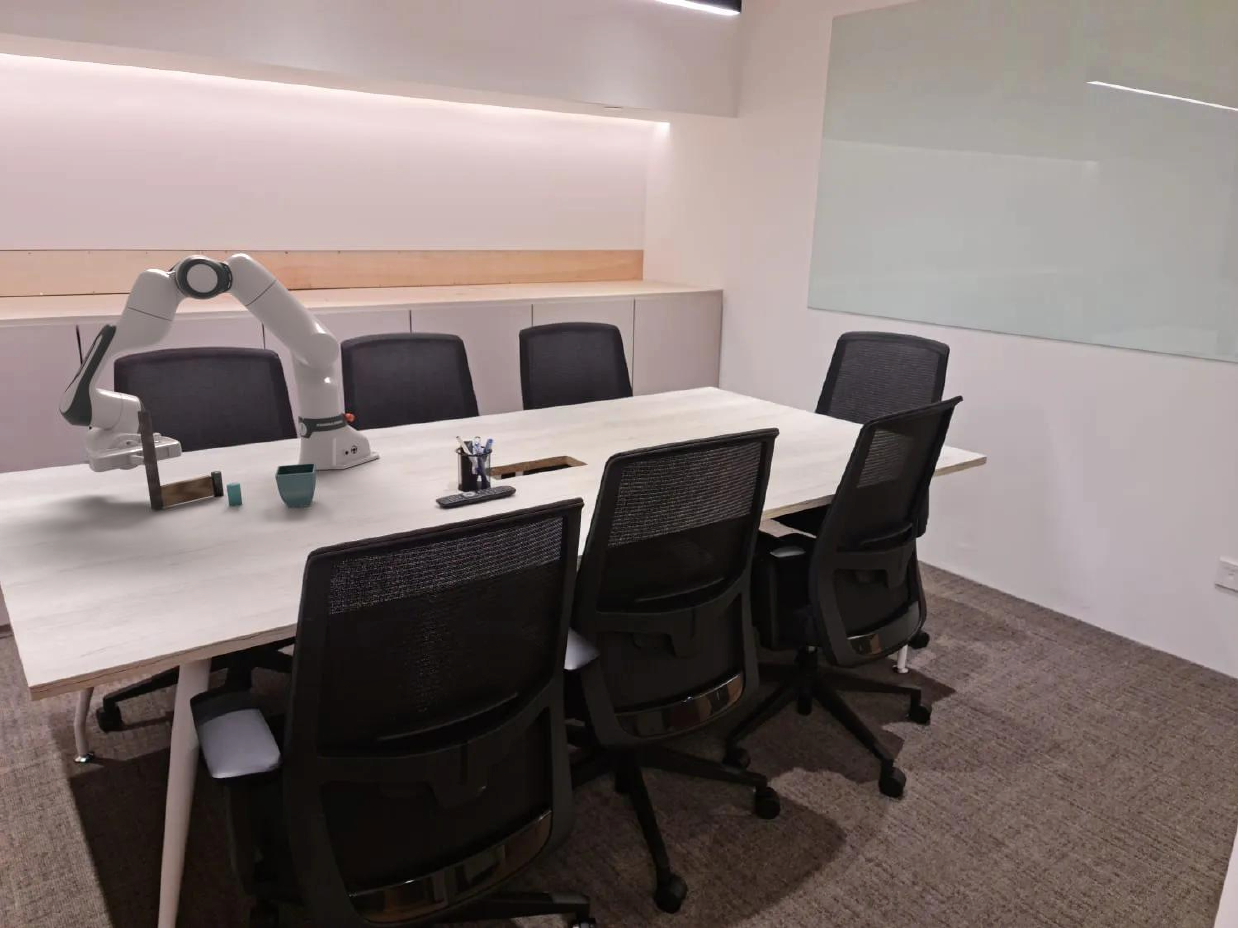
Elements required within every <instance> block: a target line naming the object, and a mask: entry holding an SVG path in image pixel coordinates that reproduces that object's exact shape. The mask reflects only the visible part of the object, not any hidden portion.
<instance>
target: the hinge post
mask: <svg viewBox="0 0 1238 928" xmlns="http://www.w3.org/2000/svg"><path fill="white" fill-rule="evenodd" d="M210 476H211V477H212V485H213V493H214V496H213V497H215V498H219V497H223V496H224V495H225V493H224V491H225V490H224V486H223V485H224V484H223V476H222V471H220V470H214V471H212V472H210Z"/></svg>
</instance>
